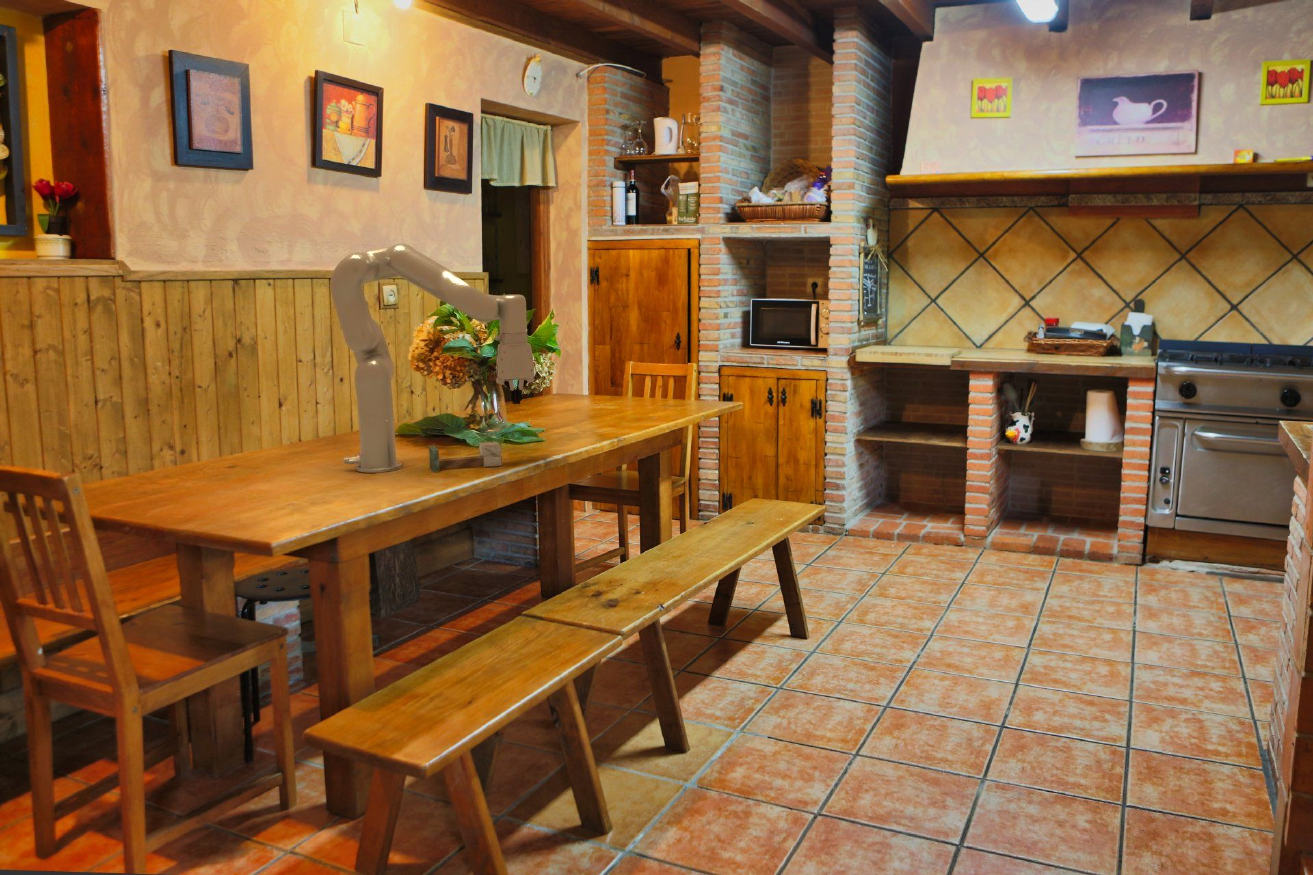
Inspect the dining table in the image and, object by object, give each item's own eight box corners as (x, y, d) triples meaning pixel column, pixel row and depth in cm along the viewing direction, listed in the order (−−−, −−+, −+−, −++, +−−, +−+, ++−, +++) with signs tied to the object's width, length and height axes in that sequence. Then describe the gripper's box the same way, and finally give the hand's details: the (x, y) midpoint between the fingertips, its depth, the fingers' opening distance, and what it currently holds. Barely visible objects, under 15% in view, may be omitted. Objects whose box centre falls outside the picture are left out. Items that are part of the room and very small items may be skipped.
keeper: (484, 466, 291) (483, 446, 290) (479, 462, 297) (478, 442, 296) (501, 465, 293) (500, 445, 292) (496, 461, 299) (496, 441, 298)
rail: (434, 472, 286) (433, 450, 285) (429, 466, 293) (428, 445, 292) (504, 466, 292) (503, 445, 291) (498, 461, 300) (497, 440, 299)
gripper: (489, 341, 286) (492, 407, 289) (543, 338, 291) (545, 403, 294) (484, 339, 292) (487, 403, 296) (536, 337, 298) (538, 400, 301)
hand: (516, 403), depth 295 cm, fingers closed
